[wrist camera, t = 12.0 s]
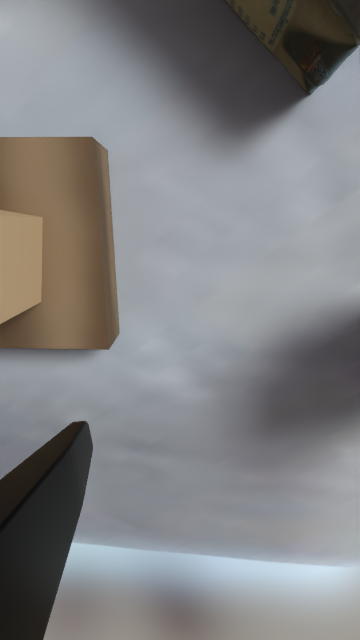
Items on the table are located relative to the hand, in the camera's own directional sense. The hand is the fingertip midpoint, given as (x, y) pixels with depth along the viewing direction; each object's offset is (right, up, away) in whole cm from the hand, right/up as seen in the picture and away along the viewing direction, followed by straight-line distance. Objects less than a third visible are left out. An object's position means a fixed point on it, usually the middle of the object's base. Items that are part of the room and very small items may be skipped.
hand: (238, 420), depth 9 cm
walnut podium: (-12, +8, +11) cm, 18 cm away
